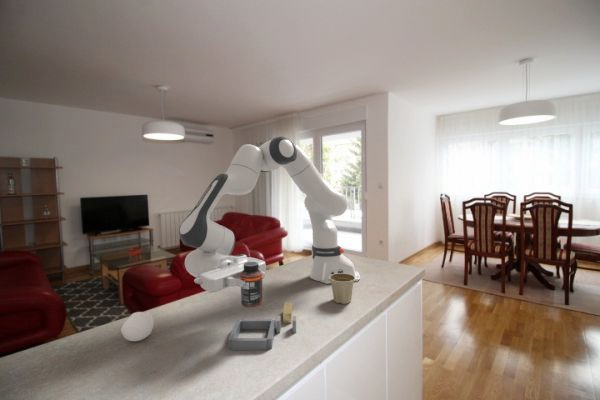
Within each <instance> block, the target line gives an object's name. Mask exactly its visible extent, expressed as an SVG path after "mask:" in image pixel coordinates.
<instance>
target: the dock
mask: <svg viewBox="0 0 600 400" xmlns="http://www.w3.org/2000/svg"><path fill="white" fill-rule="evenodd" d="M281 318H282V317H281V315H277V316H276V319H272V318H254V319H253V318H251V319H250V318H248V319H246V318H245V319H243V318H242V319H238V320H236V322H235V324H234V326H233V327H232V330H231V332H230V334H229V336H228V338H227V349H228V350H232V351H267V350H268V349H269V350H270V349H273V345H274V339H275V333H276V334H280V333H281V330H282V321H281V320H282V319H281ZM291 324H292V325H291V326H292V333H294V334H296V333H297V315H292V323H291ZM241 330H243V331H244V330H247V331H248V330H268V333H267V337H244V338H243V337H242V338H241V337H240V338H239V335H240V333H241Z"/></svg>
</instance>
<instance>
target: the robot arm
mask: <svg viewBox="0 0 600 400" xmlns="http://www.w3.org/2000/svg"><path fill="white" fill-rule="evenodd" d="M280 167H282V168H284V169H285V171H286V172H287V174H288V175H289V176H290V178H291V179H292V180H293V182H294V183H295V185H296V186H297V188H298V189H299V191H300V192H302V193H303V194H305V195H306V196H305V197H304V207H305V208H306V210H307V212H308V215H309V219H310V223H311V228H312V245H311V257H312V264H311V271H310V274H309V278H310V279H312V280H314V281H317V282H321V283H323V284H325V285H326V284H327V285H328V284H331V282H330V279H329V276H330V275H332V274H336V273H346V274H351V275H353V276H355V280H354V282H359V281H360V280H361V275H360V273H359V272H358V271H357V270H356V269H355V265H354V263H353V262H352V260H351V259H349V258H348V256H345V255H344V253H345V250H344V248H343V247H341V246H340V245H338V228H337V226H336V225H335V223H334V221H333V217H335V218H336V217H338V216H341V215H343V214H344V213H346V211H347V208H348V201H347V200H348V199H347V197H346V196H345V195H344V194H343V193H340V192H339V191H338V190H336V189H335V188H334V186H332V185H331V184H330V183H329V181H327V180H326V179H325V178H324V177H323V175H322V174H321V173H320V171H319V170H318V169H317V167H316V166H315V165H314V163H313V162H312V160H311V158H310V157H309V156H308V155H307V154H306V153H305V151H304V150H303V149H302V148H301V147H300V146H299V145H298V144H294V143H293V141H292V140H291V139H290V138H288V137H286V136H277V137H274V138H272V139H270V140H268V141H266V142H264V143H262V144H261V145H260V146H256V145H255V144H249V143H247V144H243V145H241V146H240V148H238V150H237V152H236V153H235V155H234V156H233V158H232V159H231V162H230V165H229V167H228V169H227V170H226V171H225V172H224V173H220V174H218V175H216V176H215V177H214V178H213V180H212V181H211V182H210V184H209V185H208V186H207V188H206V189H205V190H204V192H203V194H202V196H201V197H200V199H199V200H198V202H197V203H196V204H195V206H194V208H193V209H192V210H191V212H190V213H189V214H188V215H187V216H186V217H185V219H184V220H183V221H182V223H181V224H180V226H179V229H178V232H179V233H178V234H179V238H180V240H181V242H182V245H184V246H187V247H190V248H195V250H192V251H190V252H189V253H188V254H187V255H186V257H185V259H184V266H185V269H186V271H187V272H188V273H189V275H191V276H193V277H194V280H193V282H194V283H195V284H197V285H200V287H201V288H202V289H203V290H205V291H207V292H208V293H217V292H219V291H222V290H225V289H227V288H230V287H239V288H241V287H243V286H245V285H246V283H245V282H246V280H245V279H242V278H241V277H240V276H241V272H242V271H243V270H244V263H247V262H257V263H258V264H259V265H258V266H259V268H258V269H259V270H261V272H262V280H263V279H265V278H266V273H267V264H266V262H265V261H264V260H262V259H258V258H255V257H251V256H250V257H248V256H247V255H246V254H233V255H232V253H233V251H234V248H235V245H236V237H235V233H234V232H233V231H232V230H231V229H229V228H227V227H226V226H224V225H220V224H219V223H217V222H215V221H213V220H211V218H210V216H211V215H212V212H213V211H214V209H215V207H216V206H217V204H218V202H219V201H220V200H221V197H223V196H224V195H226V194H227V195H232V196H245V195H247V194H249V193H251V192H252V191H253V190H254V189H255V187H256V185H257V182H258V181H259V180H258V179H259V177H260V173H268V172H270V171H274V170H276V169H277V170H278V169H279V168H280ZM359 279H360V280H359ZM358 280H359V281H358Z"/></svg>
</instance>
